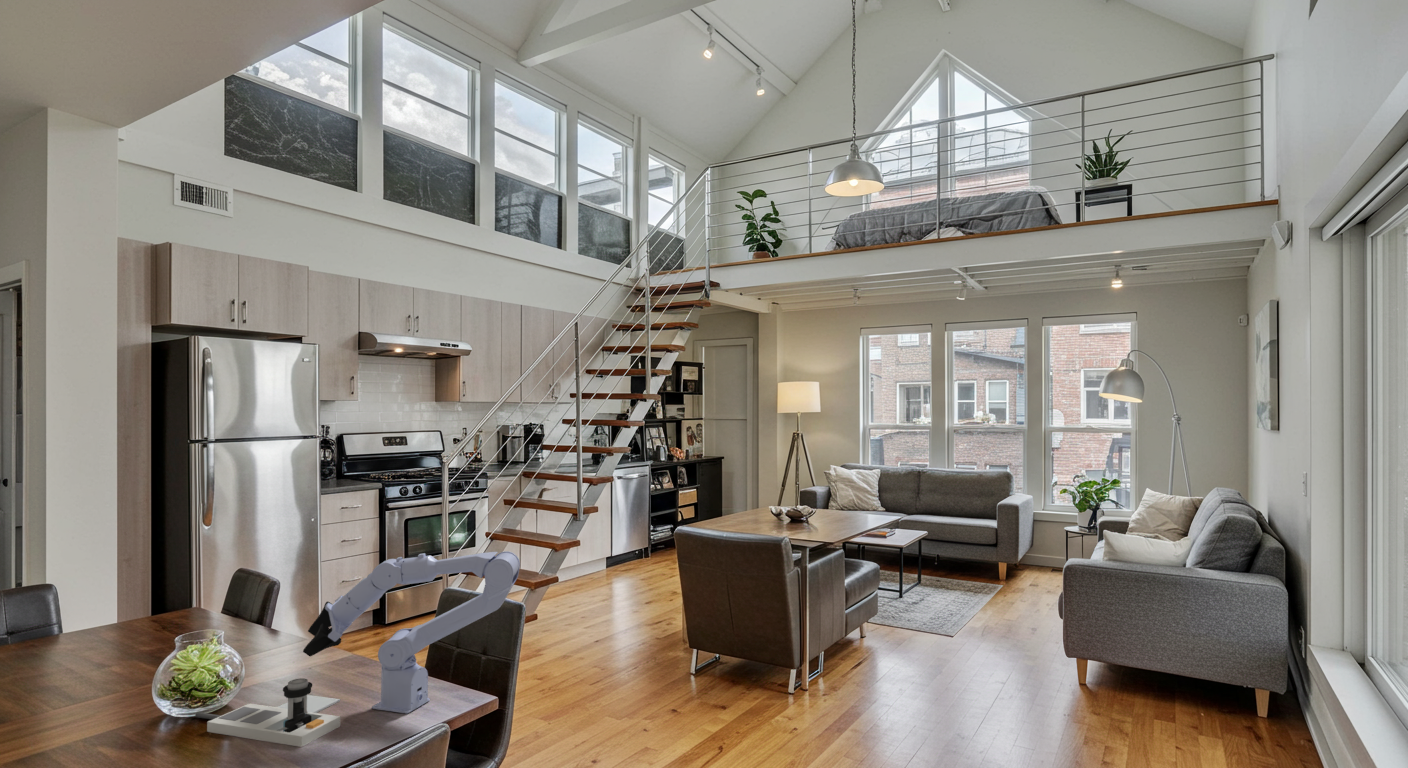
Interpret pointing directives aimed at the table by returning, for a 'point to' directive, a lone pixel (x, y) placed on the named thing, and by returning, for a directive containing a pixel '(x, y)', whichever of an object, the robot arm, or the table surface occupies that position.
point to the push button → (296, 704)
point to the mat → (316, 703)
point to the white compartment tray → (269, 725)
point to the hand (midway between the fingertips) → (309, 643)
